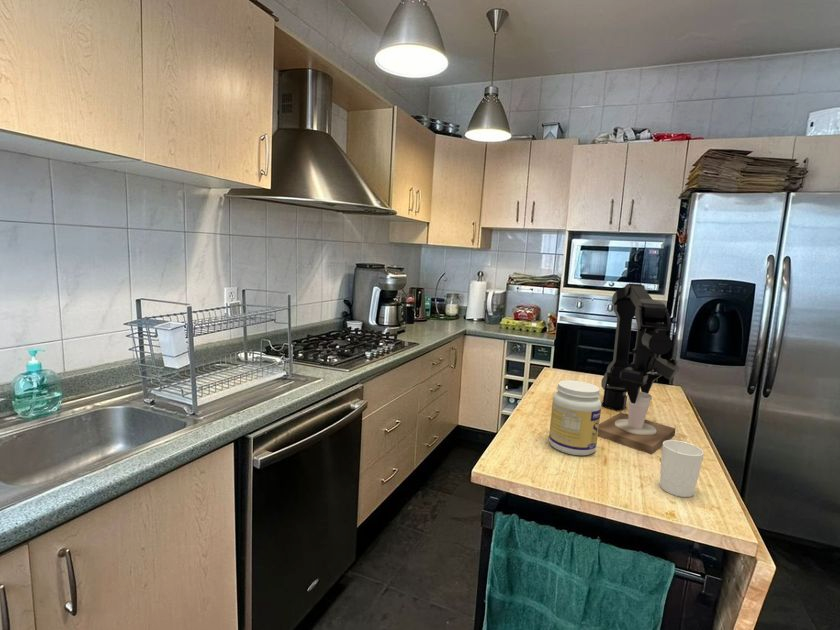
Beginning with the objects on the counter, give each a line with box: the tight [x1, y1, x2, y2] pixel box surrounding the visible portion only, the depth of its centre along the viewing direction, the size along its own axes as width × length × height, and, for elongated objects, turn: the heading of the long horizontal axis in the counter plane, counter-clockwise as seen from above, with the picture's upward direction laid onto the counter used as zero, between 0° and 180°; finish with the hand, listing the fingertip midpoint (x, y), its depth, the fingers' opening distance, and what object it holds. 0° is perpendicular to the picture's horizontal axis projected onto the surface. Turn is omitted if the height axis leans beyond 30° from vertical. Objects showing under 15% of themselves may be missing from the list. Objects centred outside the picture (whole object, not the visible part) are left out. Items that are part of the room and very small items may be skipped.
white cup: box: [659, 439, 705, 498], centre depth 101 cm, size 8×8×10 cm
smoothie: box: [626, 391, 653, 429], centre depth 130 cm, size 6×6×14 cm
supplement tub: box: [548, 379, 602, 456], centre depth 119 cm, size 12×12×17 cm
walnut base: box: [598, 411, 677, 455], centre depth 131 cm, size 16×20×3 cm
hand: (638, 399), depth 130 cm, fingers open, 9 cm apart
